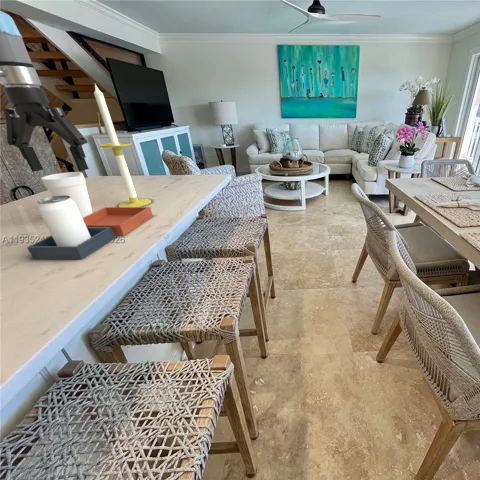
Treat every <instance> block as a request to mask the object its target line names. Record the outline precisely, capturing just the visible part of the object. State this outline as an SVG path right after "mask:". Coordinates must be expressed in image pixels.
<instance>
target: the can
mask: <svg viewBox="0 0 480 480" xmlns="http://www.w3.org/2000/svg"><path fill="white" fill-rule="evenodd" d="M37 204H38V212H39V213H40V216H41V217H42V220H43V222H44V223H45V225H46V228H47V229H48V232H49V233H50V236H52V237H53V239H54V241H55V243H56V245H57V246H77V245H79V244H81V243H82V242H84V241H86V240H88V239H89V238H91V236H90V234H89V232H88V229H87V227H86V225H85V222H84V220H83V218H82V216H81V214H80V211H79V209H78V207H77V205H76V203H75V202H74V201H73V200H72V199H71V198H70V196H67V195H62V196H48V197H43V198H42V199H39V200H37Z"/></svg>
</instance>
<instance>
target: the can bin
mask: <svg viewBox="0 0 480 480" xmlns="http://www.w3.org/2000/svg"><path fill="white" fill-rule="evenodd" d="M87 229H88V232H89V234H90V236H91V238H89V239H88V240H86V241H84V242H82V243H81V244H79V245H77V246H57V245H56V243H55V241H54V239H53V237H52V235H50V236H48V237H46V238H44V239H42V240H39V241H37V242H35V243H33V244H31V245H29V246H27V247H26V249H27V250H28V252H29V254H30V256H31V257H32V259H33V260H83V259H85V258H86V257H88V256H89V255H91V254H93V253H94V252H96V251H97V250H99V249H100V248H102V247H103V246H105V245H106V244H107V243H109V242H110V241H112V240H114V239H115V238H116V236H115V235H114V233H113V230H112V228H111V227H87Z"/></svg>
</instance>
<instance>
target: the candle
mask: <svg viewBox="0 0 480 480" xmlns="http://www.w3.org/2000/svg"><path fill="white" fill-rule="evenodd" d="M93 95H94V98H95V101H96V104H97V106H98V110H99V113H100V117H101V118H102V121H103V125H104V127H105V130H106V133H107V136H108V139H109V142H108V143H102V144H99V145H98V147H101V148H111V150H112V153H113V156H114V159H115V161H116V164H117V167H118V170H119V173H120V177H121V180H122V182H123V185H124V189H125V191H126V194H127V196H128V200H125V201H122V202H121V203H119V204H118V206H117V207H146V206H148V205H149V204H151V203H152V200H151V199H150V198H138V195H137V192H136V189H135V186H134V182H133V180H132V176H131V173H130V171H129V168H128V165H127V161H126V159H125V155H124V152H123V149H122V147H128V146H131V145H132V142H119V139H118V136H117V132H116V129H115V127H114V124H113V121H112V118H111V114H110V111H109V108H108V106H107V102H106V99H105V96H104V93H103V92H102V91H101V90H100V89H99V87H98V86H97V84H96V83H94V92H93Z"/></svg>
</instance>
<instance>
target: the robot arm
mask: <svg viewBox="0 0 480 480" xmlns="http://www.w3.org/2000/svg"><path fill="white" fill-rule="evenodd" d="M0 85H2V86H4V87H3V92H4V95H5V96H6V98H7V100H8V103H10V104H11V105H13V107H4V108H2V111H3V113H4V116H5V125H6V141H7V142H6V143H7V145H9V146H14V147H16V148H18V150H19V151H20V154H21V155H22V158H23V159H24V160H25V161H26V162H27V164H28V166H29V168H30V171H31V172H33V173H35V172H38V171H43V170H44V167H43V165H42V164H41V161H40V159H39V157H38V155H37V153H36V151H35V149H34V147H33V146H32V144H30V143H31V139H32V135H33V134H34V133H33V132H34V129H35V128H36V127H46V128H48V129H50V130H51V131H52V132H54V133H55V134H56V135H57V136H58V137H60V138H61V139H62V140H63V141H65V142H66V143H67V144H68V145H69V146H68V149H69V151H70V153H71V156H72V158H73V161H74V163H75V165H76V167H77V171H78V172H83V171H86V170H87V171H88V170H89V169H90V168H89V166H88V164H87V161H86V159H85V158H87V157H86V153H85V151H84V149H83V146H84V145H85V144H88V140H87V139H86V137H85V136H84V135H83V134H82V133H81V132H80V130H79V129H78V128H77V127H76V126H75V125H74V123H73V122H72V121H71V120H70V118H68V116H67V115H66V113H65V111H64V109H63V107H49V104H50V101H49V99H48V96H47V93H46V91H45V90H44V89H43V88H42V85H43V84H42V82H41V80H40V78H39V75H38V73H37V71H36V68H35V66H34V64H33V62H32V60H31V57H30V55H29V52H28V49H27V48H26V44H25V42H24V40H23V35H22V34H21V33H20V30H19V29H18V27H17V24H16V22H15V21H14V19H13V18H12V16H11V15H10V14H8V13H6V12H4V11H2V10H0ZM40 87H41V88H40Z"/></svg>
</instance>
